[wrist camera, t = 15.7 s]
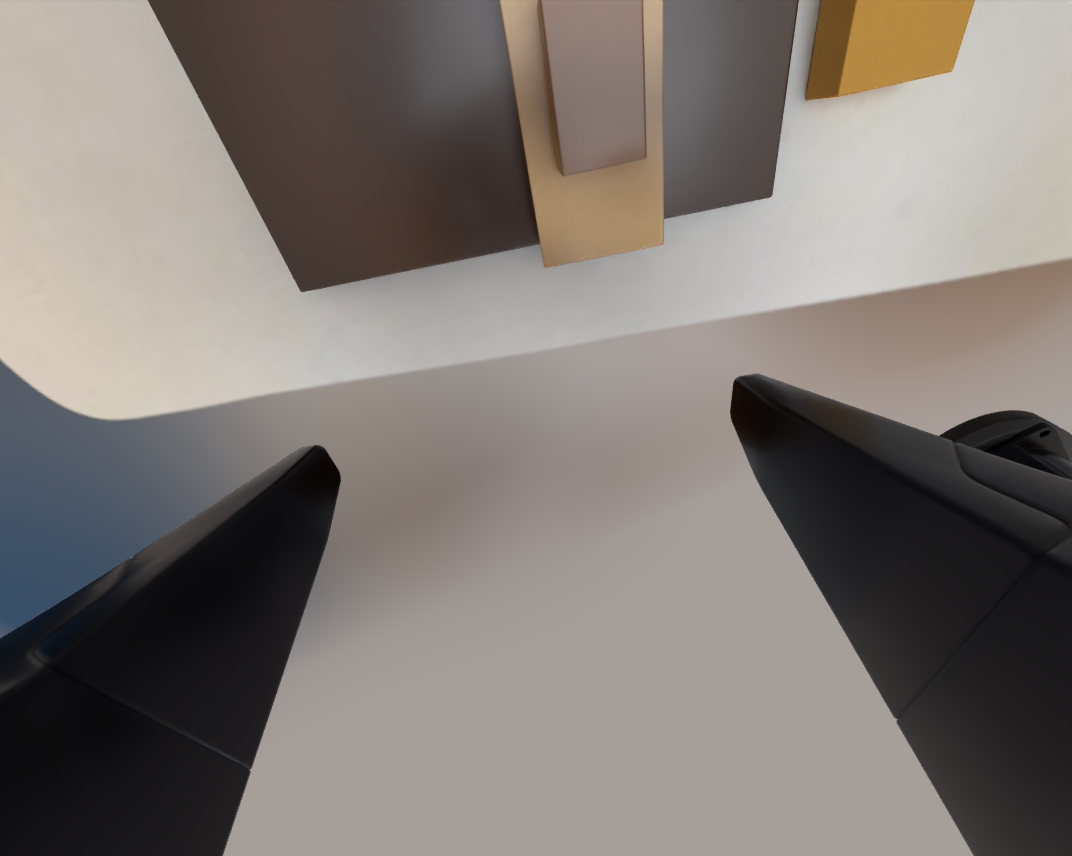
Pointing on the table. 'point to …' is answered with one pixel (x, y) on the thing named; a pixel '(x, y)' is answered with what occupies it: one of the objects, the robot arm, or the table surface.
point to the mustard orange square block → (883, 43)
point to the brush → (590, 122)
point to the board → (449, 121)
